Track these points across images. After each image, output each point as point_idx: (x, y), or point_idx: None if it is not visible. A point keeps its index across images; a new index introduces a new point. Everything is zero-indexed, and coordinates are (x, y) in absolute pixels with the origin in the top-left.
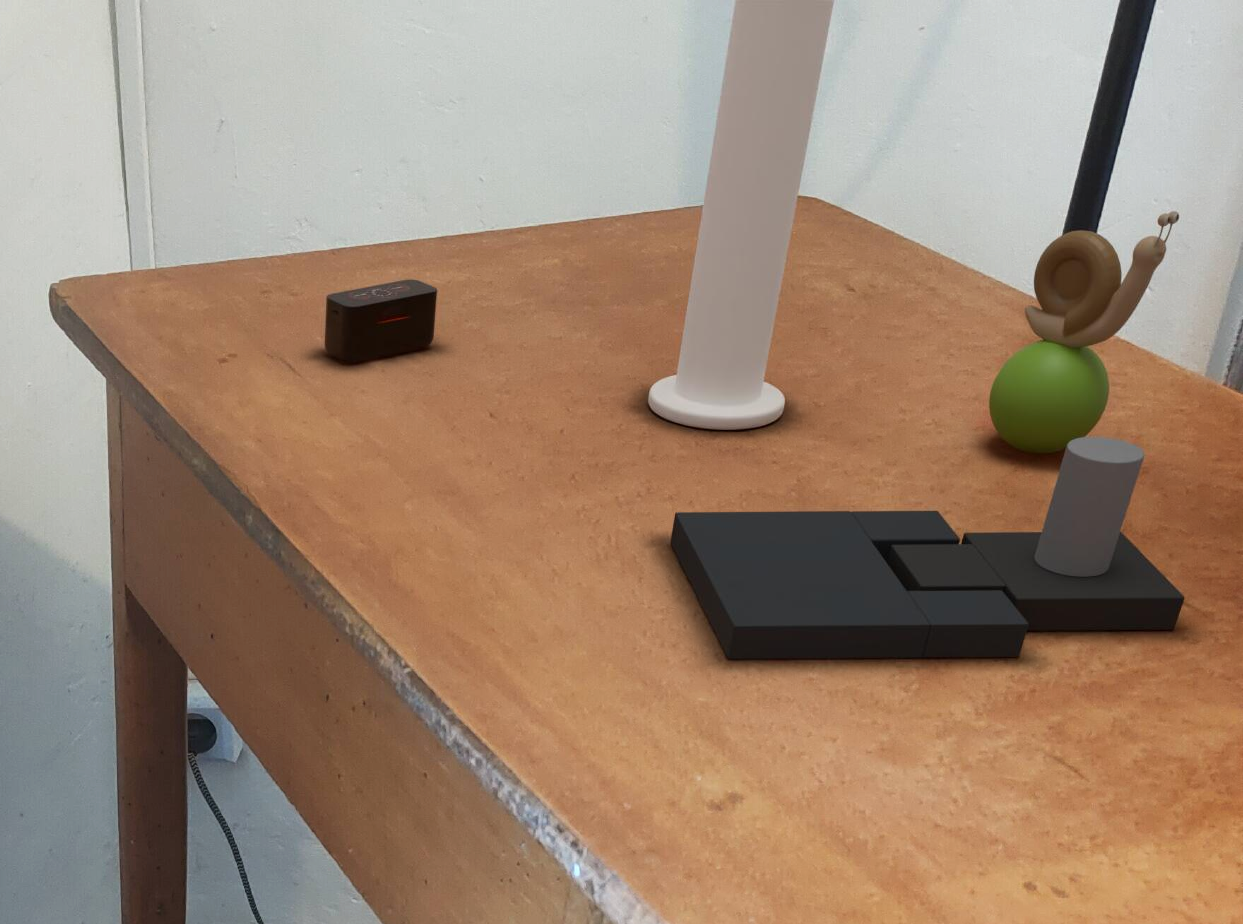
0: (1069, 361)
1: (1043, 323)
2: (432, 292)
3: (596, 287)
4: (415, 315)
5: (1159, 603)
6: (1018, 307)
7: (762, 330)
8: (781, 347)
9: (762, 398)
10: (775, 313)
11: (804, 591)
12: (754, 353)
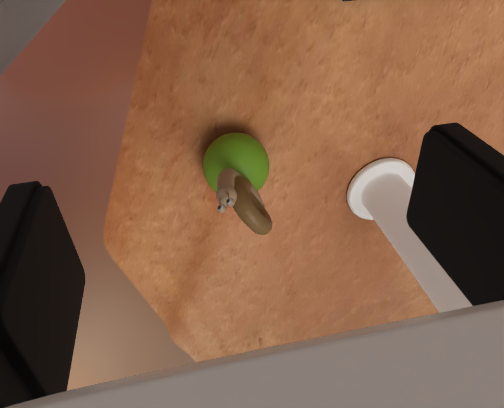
0: (241, 162)
1: (256, 192)
2: None
3: (374, 321)
4: None
5: None
6: (184, 334)
7: (391, 200)
8: (317, 269)
9: (363, 187)
10: (385, 213)
11: None
12: (388, 192)
